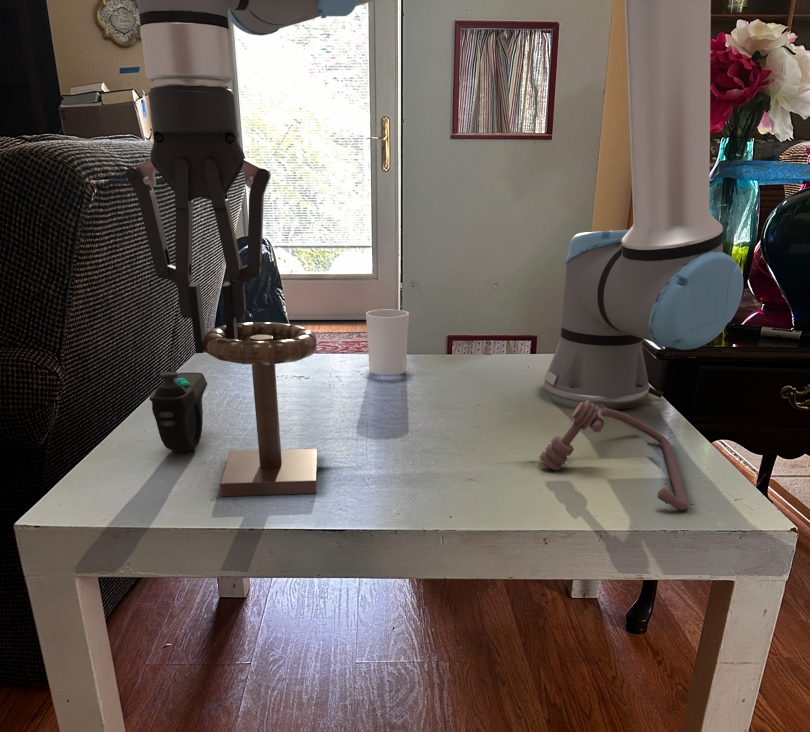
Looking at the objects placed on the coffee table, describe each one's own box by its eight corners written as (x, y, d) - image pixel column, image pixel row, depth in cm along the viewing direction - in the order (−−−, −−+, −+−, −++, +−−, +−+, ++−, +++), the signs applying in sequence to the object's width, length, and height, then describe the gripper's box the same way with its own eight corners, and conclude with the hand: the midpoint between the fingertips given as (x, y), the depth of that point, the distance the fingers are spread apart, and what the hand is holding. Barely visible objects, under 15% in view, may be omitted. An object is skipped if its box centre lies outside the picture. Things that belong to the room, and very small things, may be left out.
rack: (317, 460, 92) (310, 326, 85) (316, 493, 83) (309, 347, 76) (231, 462, 91) (217, 327, 84) (221, 496, 82) (205, 348, 75)
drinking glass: (408, 382, 123) (408, 317, 118) (365, 382, 123) (364, 317, 118) (408, 371, 129) (409, 309, 124) (368, 371, 129) (367, 309, 124)
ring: (317, 341, 86) (317, 321, 86) (315, 367, 76) (314, 345, 75) (212, 340, 86) (211, 319, 85) (196, 365, 75) (194, 342, 74)
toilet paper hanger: (698, 501, 78) (584, 425, 77) (644, 561, 82) (534, 489, 81) (676, 433, 97) (583, 371, 96) (632, 484, 101) (543, 425, 100)
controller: (154, 464, 90) (141, 379, 86) (182, 430, 102) (172, 353, 97) (191, 465, 90) (180, 379, 86) (215, 430, 101) (207, 353, 97)
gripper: (281, 90, 74) (295, 340, 84) (111, 87, 73) (147, 342, 83) (276, 84, 67) (292, 357, 78) (89, 81, 66) (131, 359, 76)
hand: (217, 349), depth 80 cm, fingers closed on ring, 3 cm apart
